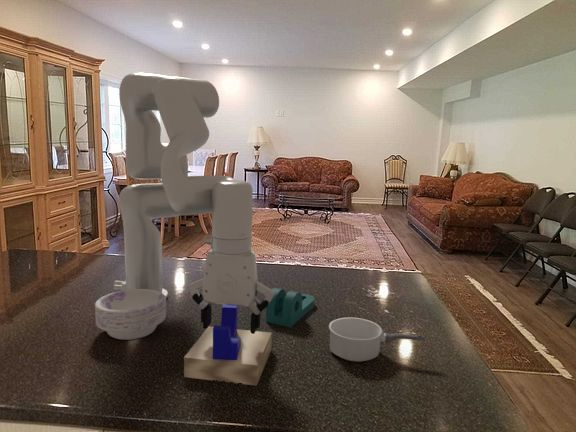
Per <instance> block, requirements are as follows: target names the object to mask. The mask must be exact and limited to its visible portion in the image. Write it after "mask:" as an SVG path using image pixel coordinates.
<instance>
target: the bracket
mask: <svg viewBox="0 0 576 432" xmlns="http://www.w3.org/2000/svg"><path fill="white" fill-rule="evenodd" d="M271 289H272V290H273V291H275V295H274V296H273V298H272V300H271V301H270V303H269V305H268V306H267V307H266V308H265V322H266V323H268V324H269V323H270V324H274V325H278V326H280V327H281V326H283V327H286V328H292V327H293V326H294V325H295V324H297V323H298V321H300V320H301V319H302V318H303V317H304V316H305V315H306V314H308V313H309V312H310V311H311V310H312V309H314V307H315V297H314V296H313V295H311V294H307V293H302V292H299V291H294V290H289V291H288V292H286V290H285V289H282V288H279V287H273V288H271Z"/></svg>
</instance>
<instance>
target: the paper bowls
mask: <svg viewBox="0 0 576 432" xmlns="http://www.w3.org/2000/svg"><path fill="white" fill-rule="evenodd" d="M94 314H95V315H94V316H95V317H94V318H95V324H96V327H97V328H99V329H100V330H101V331H105V332H106V333H107V334H108V335H109V337H112V338H114V339H117V340H122V341H124V340H127V341H128V340H136V339H141V338H144V337H147V336H149V335H150V334H152V333H153V332H154V331H155V330H156V328H157V326H158V325H160V324H161V323H163V322H164V321H165V320H166V317H167V299H166V297H165V295H164V294H163V293H161V292H159V291H155V290H149V289H131V290H123V291H121V290H119V291H118V290H117V291H116V292H115V291H114V292H112V293H108V294H106V295H103V296H101V297H99V298H98V299H97V300H96V301H95V303H94Z"/></svg>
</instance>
